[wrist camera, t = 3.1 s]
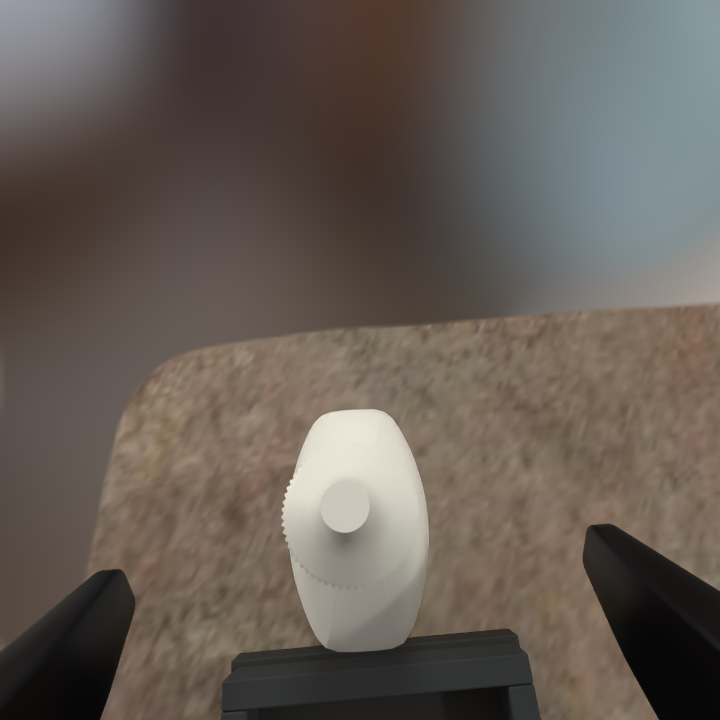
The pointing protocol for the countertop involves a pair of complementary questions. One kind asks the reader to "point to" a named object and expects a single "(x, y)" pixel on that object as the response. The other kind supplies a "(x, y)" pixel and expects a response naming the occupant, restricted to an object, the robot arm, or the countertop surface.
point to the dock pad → (387, 682)
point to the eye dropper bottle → (357, 531)
